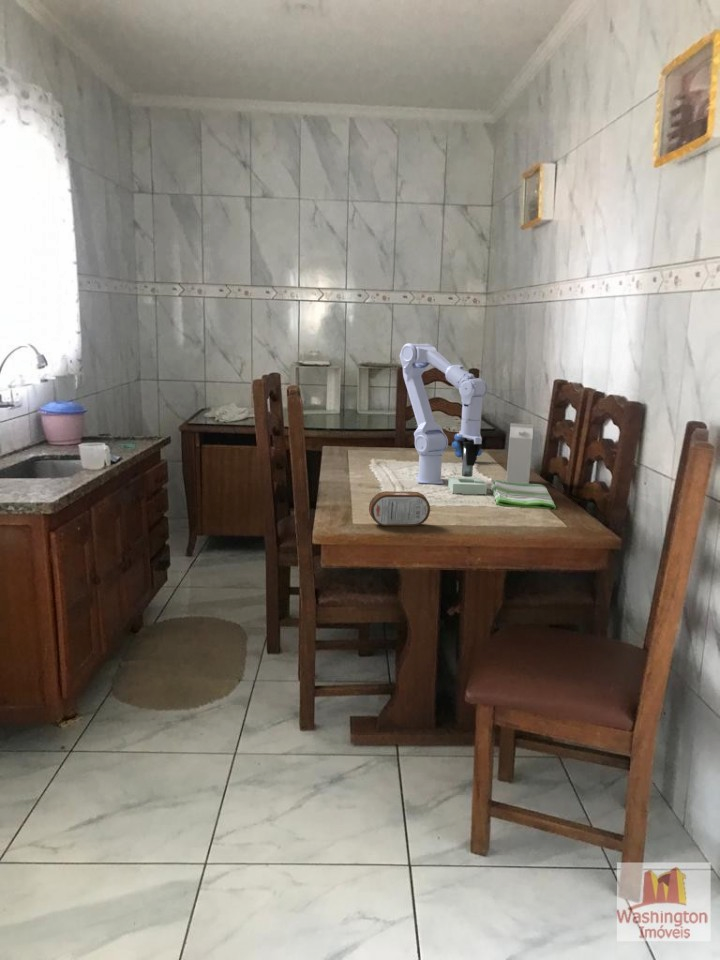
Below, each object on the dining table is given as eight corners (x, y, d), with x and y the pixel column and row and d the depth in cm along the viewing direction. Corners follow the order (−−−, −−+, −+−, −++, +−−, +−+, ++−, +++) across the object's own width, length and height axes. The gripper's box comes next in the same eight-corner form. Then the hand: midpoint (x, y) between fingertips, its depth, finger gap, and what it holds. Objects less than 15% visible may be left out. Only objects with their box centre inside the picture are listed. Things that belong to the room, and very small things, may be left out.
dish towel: (546, 493, 223) (547, 482, 223) (557, 511, 201) (558, 499, 200) (490, 490, 225) (490, 479, 224) (494, 507, 203) (495, 495, 202)
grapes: (454, 464, 264) (456, 431, 261) (449, 461, 270) (450, 429, 268) (484, 464, 265) (487, 431, 263) (479, 461, 272) (481, 429, 270)
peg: (459, 475, 221) (461, 445, 219) (469, 474, 222) (470, 445, 220) (464, 477, 218) (466, 447, 216) (474, 476, 219) (476, 447, 217)
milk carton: (506, 479, 240) (510, 422, 236) (528, 480, 239) (533, 423, 235) (506, 483, 233) (510, 424, 229) (528, 485, 232) (533, 426, 228)
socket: (447, 486, 225) (448, 477, 225) (480, 487, 226) (480, 478, 225) (452, 493, 216) (453, 483, 215) (486, 494, 216) (486, 484, 215)
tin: (427, 523, 182) (429, 490, 180) (430, 526, 179) (432, 493, 177) (368, 524, 179) (369, 490, 178) (370, 527, 176) (371, 493, 175)
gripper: (450, 416, 222) (448, 459, 225) (466, 422, 208) (463, 468, 211) (472, 416, 224) (469, 459, 227) (489, 422, 210) (486, 468, 213)
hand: (468, 464), depth 219 cm, fingers closed on peg, 3 cm apart
